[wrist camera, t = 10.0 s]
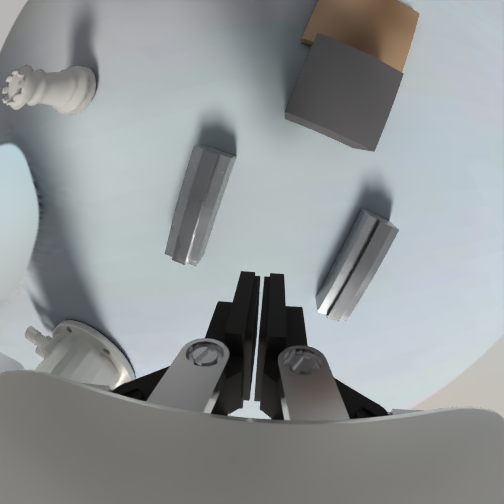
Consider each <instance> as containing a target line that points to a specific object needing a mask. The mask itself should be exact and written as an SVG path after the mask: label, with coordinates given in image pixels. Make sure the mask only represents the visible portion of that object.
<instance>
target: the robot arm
mask: <svg viewBox="0 0 504 504" xmlns="http://www.w3.org/2000/svg"><path fill="white" fill-rule="evenodd" d="M259 289H260V276H255V272H244V271H241V274H240V277H239V281H238V285H237V289H236V292H235V296H234V300H233V302H221V301H219V302H218V303H217V306H216V308H215V311H214V314H213V317H212V320H211V322H210V325H209V328H208V331H207V334H206V337H205V338H202V339H196V340H193V341H191V342H189V343H187V344H186V345H185V346H184V347H183V348H182V349H181V351H180V352H179V354H178V355H177V357H176V358H175V360H174V361H173V363H172V364H171V365H170V366H169V367H166V368H164V369H161V370H159V371H156V372H153V373H151V374H148V375H146V376H143V377H140V378H138V379H135V375H134V373H133V370H132V368H131V366H130V364H129V362H128V361H127V359H126V358H125V357H124V355H123V354H122V353H121V352H120V350H119V349H118V348H117V347H116V346H115V345H114V344H113V343H112V342H111V341H110V340H109V339H107V338H106V337H105V336H104V335H102V334H101V333H100V332H98V331H97V330H95V329H93V328H92V327H90V326H88V325H86V324H84V323H81V322H78V321H73V320H66V321H63V322H61V323H59V324H58V326H57V327H56V328H55V329H54V331H53V338H51V337H50V336H46V337H45V336H44V335H42V334H41V333H40V332H39V331H38V330H36V329H35V328H33V327H32V326H30V327H28V328H27V330H26V332H25V337H26V338H27V339H28V340H29V341H30V342H32V343H33V344H34V345H37V348H36V353H37V354H38V355H39V356H41V357H42V358H44V360H43V361H42V362H41V363H40V364H39V366H38V367H37V368H36V369H35V370H23V369H17V370H8V371H5V372H2V373H0V504H504V418H503V417H502V416H501V415H499V414H498V413H496V412H494V411H491V410H488V409H483V408H476V407H451V408H440V409H434V410H427V411H423V410H401V409H392V411H391V412H387V411H386V410H385V409H384V408H383V407H381V406H380V405H379V404H377V403H375V402H373V401H372V400H370V399H368V398H367V397H365V396H363V395H361V394H360V393H358V392H356V391H355V390H353V389H351V388H350V387H348V386H347V385H345V384H343V383H342V382H340V381H338V380H337V379H335V378H334V377H333V375H332V372H331V370H330V367H329V365H328V362H327V360H326V358H325V356H324V355H323V354H322V353H321V352H320V351H318V350H317V349H314V348H312V347H309V346H307V338H306V331H305V323H304V316H303V309H302V307H291V306H285V285H284V274H274V273H270V277H264V288H263V299H262V310H261V320H260V331H259V343H258V357H257V371H256V385H255V399H254V401H261V402H260V410H262V411H263V412H264V413H266V414H267V415H268V416H269V417H270V418H269V419H255V418H243V417H233V416H231V413H232V412H234V411H235V410H237V409H239V408H242V407H243V400H249V399H250V391H251V383H252V374H253V365H254V356H255V347H256V338H257V323H258V306H259Z"/></svg>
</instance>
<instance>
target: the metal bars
mask: <svg viewBox="0 0 504 504" xmlns="http://www.w3.org/2000/svg"><path fill="white" fill-rule="evenodd" d="M235 159H236V156H234V155H231V154H228V153H226V152H223V151H220V150H217V149H214V148H210V147H207V146H204V145H200V146H194V149H193V152H192V155H191V158H190V162H189V165H188V168H187V171H186V175H185V178H184V182H183V185H182V189H181V192H180V196H179V199H178V203H177V207H176V210H175V214H174V218H173V222H172V226H171V230H170V234H169V238H168V242H167V246H166V251H165V254H166V255H169V256H171V257H172V260H174V261H176V262H179V263H181V264H184V265H185V264H186V263H189V264H191V265H194V266H197V264H198V263H199V261H200V260H201V258H202V257H203V255H204V252H205V249H206V245H207V242H208V239H209V236H210V233H211V230H212V227H213V224H214V220H215V217H216V214H217V211H218V208H219V205H220V202H221V199H222V196H223V193H224V191H225V188H226V185H227V182H228V179H229V176H230V173H231V170H232V167H233V165H234V162H235ZM398 231H399V229H397V228H396V227H395V226H394V225H393V224H392V223H391V222H390V221H388V220H386V219H384V218H382V217H380V216H378V215H376V214H374V213H372V212H370V211H368V210H366V209H364V208H361V210H360V212H359V214H358V216H357V219H356V221H355V223H354V225H353V227H352V229H351V231H350V233H349V235H348V237H347V239H346V241H345V243H344V245H343V247H342V249H341V251H340V253H339V255H338V257H337V259H336V261H335V263H334V264H333V266H332V268H331V270H330V272H329V274H328V276H327V278H326V279H325V281H324V283H323V285H322V287H321V289H320V290H319V292H318V294H317V296H316V303H317V311H318V312H320V313H323V314H326V315H327V318H329V319H332V320H335V321H339V320H340V319H341V320H344V321H346V320H347V319H348V317H349V316H350V314H351V313H352V311H353V310H354V308H355V306H356V305H357V303H358V302H359V300H360V298H361V297H362V295H363V294H364V292H365V290H366V289H367V287H368V285H369V284H370V282H371V280H372V278H373V277H374V275H375V273H376V272H377V270H378V268H379V266H380V264H381V263H382V261H383V259H384V257H385V255H386V254H387V252H388V250H389V248H390V246H391V244H392V242H393V240H394V239H395V237H396V235H397V233H398Z"/></svg>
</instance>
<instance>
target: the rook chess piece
mask: <svg viewBox="0 0 504 504" xmlns="http://www.w3.org/2000/svg"><path fill="white" fill-rule="evenodd" d="M5 81H6V82H9V84H8V87H3V89H2V94H6V96H7V97H3V99H2V101H3V103H4V104H7V105H10V106H11V108H13V109H14V110H18V109H20V108H21V107H22V106H23V105H25V104H26V103H27V105H29V106H34V105H36V104H37V103H42V104H47V105H51V107H53V108H54V109H55V110H56V111H58V112H60V113H62V114H69V115H75V114H78V113H80V112H81V111H83V110H84V109H85V108H86V107H87V105H88V104H89V103H90V102H91V100H92V98H93V96H94V94H95V89H96V80H95V74H94V73H93V71H92V70H91V69H90V68H88V67H85V66H82V67H80V66H73V67H69V68H67V69H65V70H62V71H60V72H52V73H46V72H44V70H41V69H39V70H36V71H35V72H34V71H33V69H32V67H31V66H29V65H25V66H23V67H21V68H20V69H15V70H13V71H12V75H8V76H7V78H6V80H5Z"/></svg>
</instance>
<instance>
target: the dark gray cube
mask: <svg viewBox="0 0 504 504" xmlns="http://www.w3.org/2000/svg"><path fill="white" fill-rule="evenodd" d="M402 77H403V73H402V72H400V71H398V70H397V69H395V68H393V67H391V66H389V65H388V64H386V63H384V62H382V61H380V60H378V59H376V58H374V57H372V56H370V55H368V54H366V53H364V52H362V51H360V50H358V49H356V48H354V47H352V46H349V45H347V44H345V43H342V42H340V41H338V40H335V39H333V38H330V37H328V36H325V35H323V34H320V33H317V35H316V37H315V39H314V42H313V44H312V47H311V49H310V51H309V54H308V56H307V59H306V61H305V63H304V66H303V68H302V71H301V73H300V76H299V78H298V81H297V83H296V86H295V88H294V91H293V93H292V95H291V98H290V100H289V103H288V105H287V108H286V110H285V119H287V120H289V121H292V122H295V123H297V124H300V125H302V126H305V127H307V128H309V129H312V130H314V131H317V132H319V133H321V134H324V135H326V136H328V137H330V138H333V139H335V140H337V141H339V142H341V143H343V144H346V145H348V146H350V147H352V148H356V149H362V150H368V151H375V149H376V146H377V144H378V141H379V139H380V137H381V134H382V131H383V129H384V126H385V124H386V121H387V119H388V116H389V113H390V111H391V108H392V105H393V102H394V100H395V97H396V94H397V91H398V88H399V86H400V83H401V80H402Z"/></svg>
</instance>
